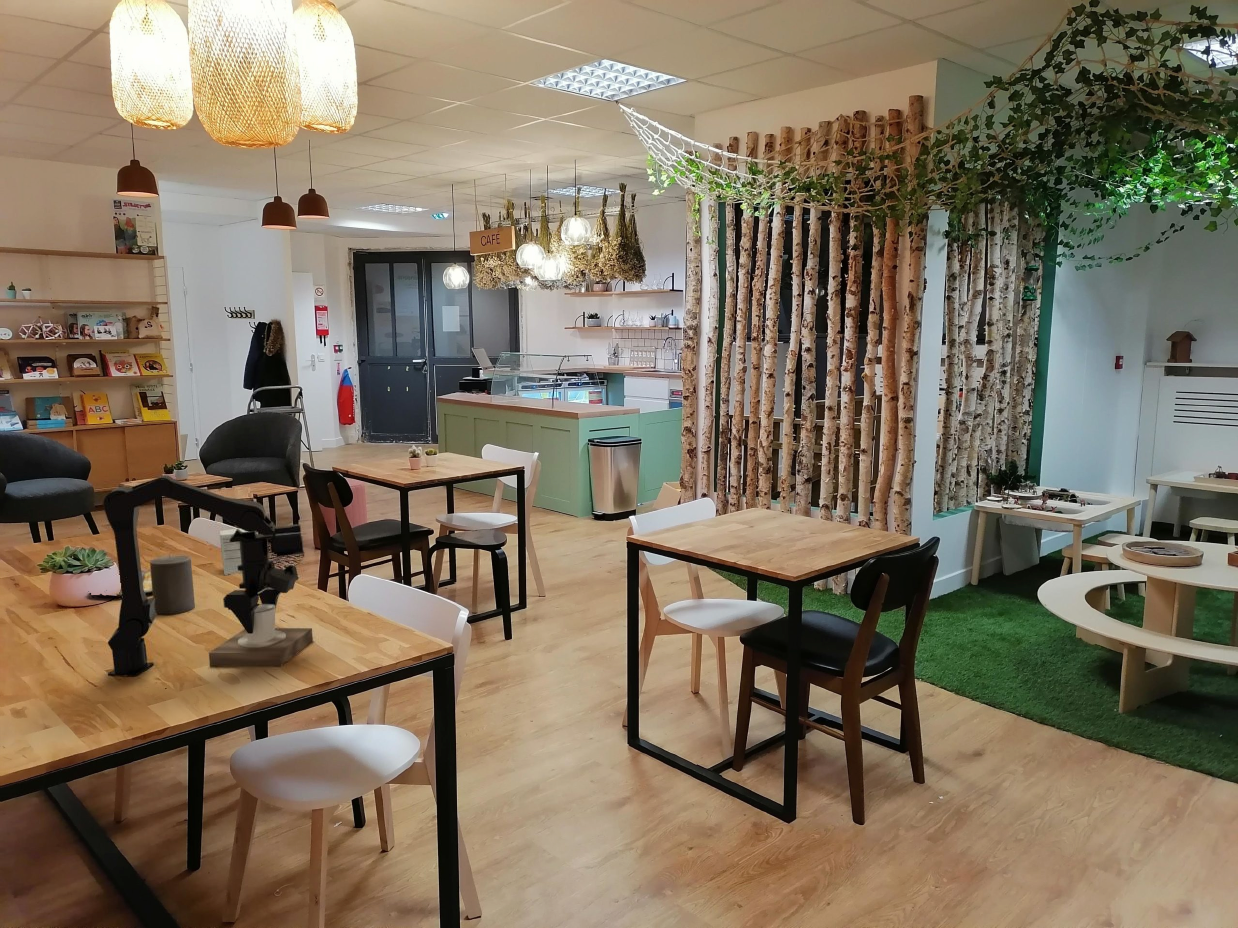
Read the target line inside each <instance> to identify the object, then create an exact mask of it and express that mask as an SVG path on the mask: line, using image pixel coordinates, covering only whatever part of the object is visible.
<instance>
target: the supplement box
mask: <svg viewBox="0 0 1238 928" xmlns="http://www.w3.org/2000/svg"><path fill="white" fill-rule="evenodd" d="M236 529H237V528H234V529H233V528H231V529H225V530H219V539H220V541H219V542H220V550H221V560H222V566H223V569H222V570H223V575H224V576H229V575H228V574H232V575H236V574H235V573H240V574H242V571H238V567H237V566H239V565H241V554H240V543H239V542H230V541H229V540H230V537H231V536H232V535H233V534H234V533H235V532H236ZM238 529H239V530H240V531H241V532H247V531H245V530H242V529H241V528H238Z"/></svg>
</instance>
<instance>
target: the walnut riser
mask: <svg viewBox="0 0 1238 928" xmlns="http://www.w3.org/2000/svg"><path fill="white" fill-rule="evenodd" d="M313 637H314V636H313V628H311V627H308V628H307V627H304V628H300V627H275V637H274V638H273V639H271V640H268V641H264V642H250V641H248V636H247V631H246V630H245V629H244V628H243V629H242V630H241V631H239V632H238V633H236V634H235V635H234V636H232V637H231V638H228V639H227V640H226V641H224V642H223V643H222V644H220V645H218V646H217V647H215V648H214V649H213V650H211V651H209V652H208V659H209V661H208V662H209V666H210V667H282V666H283V665H285V664H286V663H287V662H288V661H290V660H291V659H292V658H293V657H295V654H296V653H297V652H298V653H299V652H301V651H302V650H303V649H304V648H306V647H307V646H308V645H309V644H310V643H312V642H313V641H314V638H313ZM311 641H312V642H311ZM305 646H306V647H305ZM301 649H302V650H301ZM300 650H301V651H300ZM298 653H297V654H298ZM297 654H296V655H297ZM292 656H293V657H292ZM291 657H292V658H291ZM290 658H291V659H290ZM289 659H290V660H289ZM286 661H287V662H286ZM285 662H286V663H285ZM284 663H285V664H284ZM282 664H283V665H282ZM281 665H282V666H281Z"/></svg>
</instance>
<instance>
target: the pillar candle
mask: <svg viewBox="0 0 1238 928" xmlns="http://www.w3.org/2000/svg"><path fill="white" fill-rule="evenodd" d="M149 565H150V570H151V580H152V592H151V593H152V598H153V597H154V598H155V603H154V608H155V611H156V613H157V615H161V616H171V615H177V614H181V613H182V614H183V613H187V612H189V611H192V610H193V609H195V606H196V603H195V592H194V589H195V588H194V580H193V568H192V557H191V556H189V555H180V554H179V555H177V554H176V555H170V554H168V555H167V556H161V557H157V558H153V559H151V560H150V562H149Z"/></svg>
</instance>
